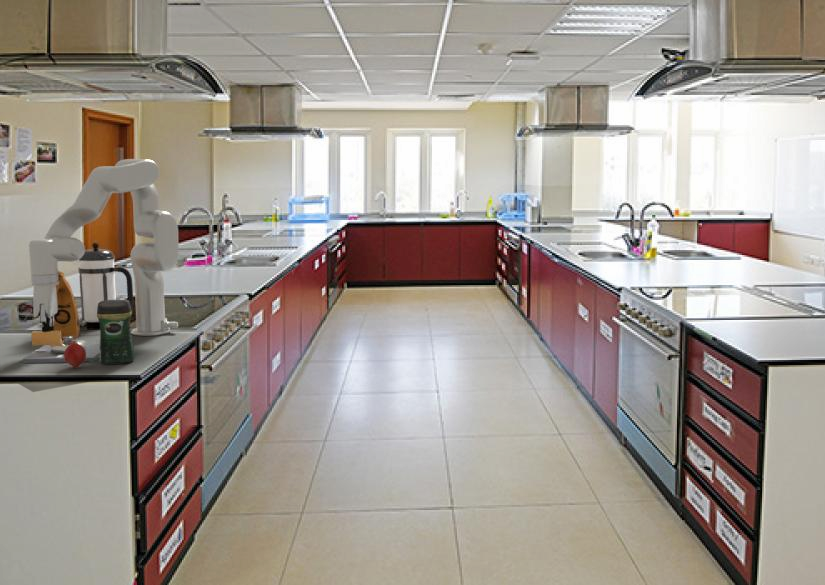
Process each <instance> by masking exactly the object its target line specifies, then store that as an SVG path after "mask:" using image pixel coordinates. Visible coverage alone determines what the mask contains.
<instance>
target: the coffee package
mask: <svg viewBox="0 0 825 585" xmlns="http://www.w3.org/2000/svg"><path fill="white" fill-rule="evenodd" d="M58 280H59V284H57V285H56V292H57V303H58V311H57V313H56V314H55V315H54V330H61V337H62V339H63V337H65V336H73V338H75V339H78V337H79V334H80V332H81V330H80V325H79V322H80V319H79V311H78V306H77V302H76V299H75V296H74V293H73V291H72V287H71V285H70V282H69V281H68V280H67V279H66V278H65V273H64V272H62V271H60V270H58Z"/></svg>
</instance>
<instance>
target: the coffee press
mask: <svg viewBox="0 0 825 585" xmlns="http://www.w3.org/2000/svg"><path fill="white" fill-rule="evenodd" d="M99 246H100V244H99V243H98V242H93V243H92V246H91V247H92V248H93V249H85V253H84V255H83V256H82V257H81V258H80V259H79V260H77V261H74V262H75V263H74V265H78V268H77V269H78V273H79V274H78V275H79V288H80V289H79V292H80V293H79V294H80V305H81V306H80V307H81V308H80V309H81V319H80V320H79V327H80V326H81V327H84V326H85V325H86V324H88V323H99V320H98V318H97V307H98V303H99V302H100V301H105V300H117V294H116V293H117V292H116V276H115V274H116V272H117V273H122V274H123V275H124V276H125V278H126V279H125V280H126V290H127V291H126V293H127V294H126V296H127V300H129V302H130V306H131V307H132V305H133V302H134V288H133V285H134V284H133V279H132V275H131V273H130V271H129V270H128V269H127V268H125V267H121V266H117V267H116V266H115V260H116V256H115V255H114V253H113V251H111V250H109V249H105V248H104V249H103V248H99ZM83 321H84V322H83ZM82 322H83V323H82Z"/></svg>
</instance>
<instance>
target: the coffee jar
mask: <svg viewBox="0 0 825 585" xmlns="http://www.w3.org/2000/svg"><path fill="white" fill-rule="evenodd" d="M132 314H133V311H132V305H131V306H130V302H129V300H128V299H116V300H105V301H100V302H99V303H98V307H97V318H98V320H99V322H98V323H99V333H100V334H99V343H100V357H99V362H100V363H101V364H104V365H121V364H128V363H130V362H131V363H132V362H133V361H134V360H135V350H134V349H135V348H134V344H133V338H132V330H131V318H132Z"/></svg>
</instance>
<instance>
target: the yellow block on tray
mask: <svg viewBox="0 0 825 585" xmlns="http://www.w3.org/2000/svg"><path fill="white" fill-rule="evenodd" d="M30 334H31V346H32V347H33V346H35V347H36V346H44V345H50V346H51V352H52V353H61V354H64V352H65V350H66V348H67V347H68V346H69V345H70V344H72V342H73V341H76V342H77V343H78V344H79V345H81V346H82V347H83V348H84V349H85V350H86V344H87V341H85V340H80V339H73V336H65V337H63V340H62V337H61V330H55V331H42V330H37V331H36V330H35V331H32V332H31V333H30Z"/></svg>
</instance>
